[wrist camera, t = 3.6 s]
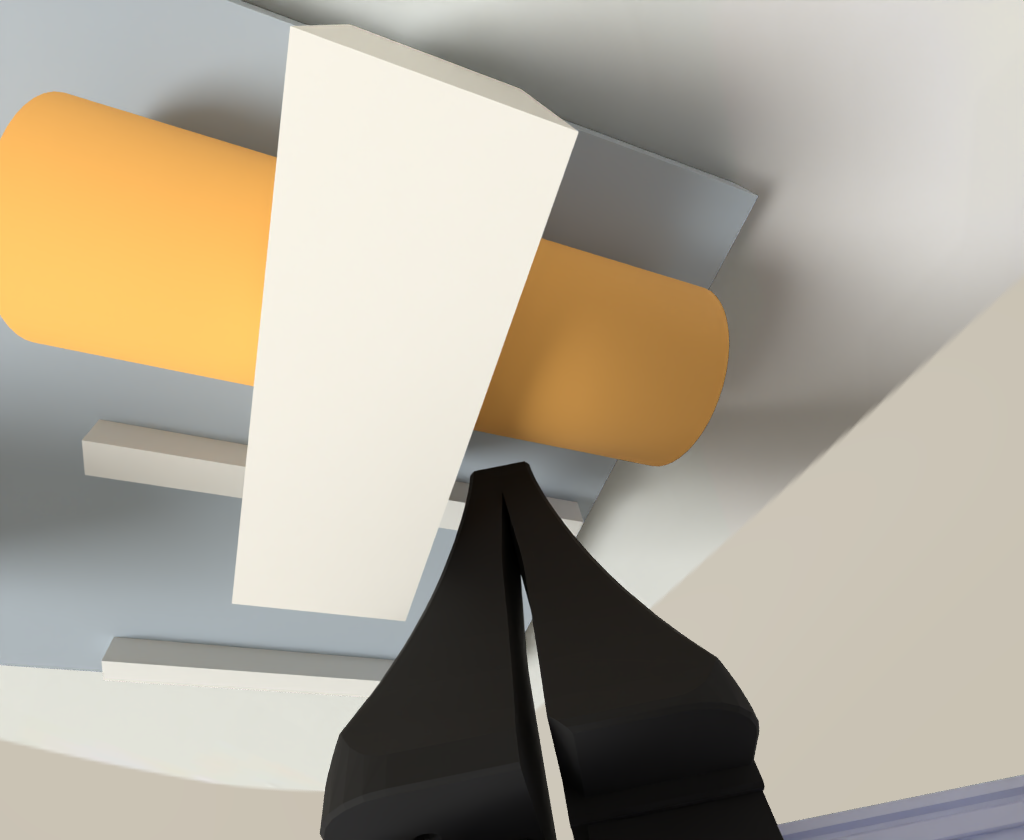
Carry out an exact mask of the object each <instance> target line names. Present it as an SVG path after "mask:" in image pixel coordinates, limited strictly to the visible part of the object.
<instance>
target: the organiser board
mask: <svg viewBox="0 0 1024 840" xmlns="http://www.w3.org/2000/svg"><path fill="white" fill-rule="evenodd" d="M290 26H306V24H303V23H301V22H298V21H295V20H293V19H290V18H287V17H285V16H282V15H279V14H276V13H274V12H271V11H268V10H266V9H263V8H260V7H257V6H255V5H252V4H249V3H247V2H244V1H241V0H0V139H1V137H2V135H3V133H4V131H5V129H6V127H7V126H8V124H9V123H10V121H11V120H12V119H13V117H14V116H15V114H16V113H17V112H18V111H19V110H20V109H21V108H22V107H23V106H24V105H25V104H26V103H28V102H29V101H30V100H32V99H33V98H34V97H36V96H39V95H41V94H43V93H47V92H53V91H55V92H64V93H67V94H71V95H74V96H77V97H80V98H84V99H87V100H90V101H93V102H97V103H100V104H103V105H107V106H110V107H113V108H116V109H120V110H123V111H126V112H130V113H133V114H136V115H139V116H143V117H146V118H149V119H152V120H156V121H159V122H162V123H166V124H169V125H172V126H175V127H179V128H182V129H185V130H189V131H192V132H195V133H198V134H202V135H205V136H208V137H212V138H215V139H218V140H221V141H225V142H228V143H231V144H234V145H238V146H241V147H244V148H248V149H251V150H254V151H257V152H261V153H264V154H267V155H271V156H274V157H277V151H278V141H279V131H280V122H281V112H282V102H283V92H284V82H285V72H286V62H287V52H288V43H289V33H290ZM562 120H563V119H562ZM564 121H565V122H566V123H568V124H569V125H570V126H572V127H573V128H574V129H576V130H577V131H578V132H579V133H578V135H577V138H576V141H575V144H574V147H573V149H572V152H571V155H570V158H569V161H568V164H567V166H566V169H565V172H564V175H563V178H562V181H561V183H560V186H559V189H558V192H557V195H556V197H555V200H554V203H553V206H552V209H551V212H550V214H549V217H548V220H547V223H546V226H545V229H544V231H543V234H542V237H541V238H543V239H546V240H549V241H553V242H556V243H559V244H562V245H566V246H569V247H572V248H575V249H579V250H582V251H585V252H589V253H592V254H595V255H598V256H602V257H605V258H608V259H612V260H615V261H618V262H621V263H625V264H628V265H631V266H634V267H638V268H641V269H644V270H648V271H651V272H654V273H657V274H661V275H664V276H667V277H671V278H674V279H677V280H680V281H684V282H687V283H690V284H694V285H697V286H700V287H703V288H706V289H708V290H709V288H710V286H711V284H712V282H713V280H714V278H715V277H716V275H717V273H718V271H719V269H720V267H721V265H722V263H723V262H724V260H725V258H726V256H727V254H728V252H729V250H730V249H731V247H732V245H733V243H734V241H735V239H736V237H737V235H738V234H739V232H740V230H741V228H742V226H743V224H744V222H745V221H746V219H747V217H748V215H749V213H750V211H751V209H752V207H753V206H754V204H755V202H756V200H757V198H758V195H756V194H754V193H752V192H750V191H749V190H747V189H745V188H743V187H741V186H739V185H737V184H735V183H733V182H731V181H728V180H725V179H723V178H720V177H717V176H714V175H712V174H709V173H706V172H704V171H701V170H698V169H696V168H693V167H690V166H687V165H685V164H682V163H679V162H677V161H674V160H671V159H668V158H666V157H663V156H660V155H658V154H655V153H652V152H650V151H647V150H644V149H641V148H639V147H636V146H633V145H631V144H628V143H625V142H623V141H620V140H617V139H614V138H612V137H609V136H606V135H604V134H601V133H598V132H595V131H593V130H590V129H587V128H585V127H582V126H579V125H577V124H574V123H571V122H568V121H566V120H564ZM253 388H254V386H249V385H244V384H239V383H234V382H229V381H224V380H219V379H214V378H209V377H204V376H199V375H194V374H189V373H184V372H179V371H174V370H169V369H164V368H159V367H154V366H149V365H144V364H139V363H134V362H129V361H124V360H119V359H114V358H109V357H104V356H99V355H94V354H89V353H84V352H79V351H74V350H69V349H64V348H59V347H54V346H49V345H44V344H39V343H34V342H31V341H28V340H25V339H23V338H22V337H20V336H18V335H17V334H16V333H15V332H14V331H13V330H12V329H10V328H9V326H8V325H7V324H6V322H5V321H4V320H3V318H2V317H1V315H0V665H6V666H21V667H36V668H51V669H65V670H80V671H95V672H102V673H103V681H119V682H134V683H150V684H165V685H181V686H196V687H212V688H227V689H243V690H258V691H274V692H290V693H305V694H321V695H336V696H352V697H367V698H368V697H369V696H370V695H371V694H372V692H373V691H374V690H375V688H376V687H377V685H378V684H379V683H380V681H381V680H382V678H383V677H384V675H385V674H386V672H387V671H388V669H389V668H390V666H391V665H392V663H393V662H394V660H395V659H396V657H397V656H398V654H399V653H400V651H401V650H402V648H403V647H404V645H405V643H406V642H407V640H408V638H409V637H410V635H411V633H412V632H413V630H414V628H415V626H416V624H417V623H418V621H419V619H420V617H421V615H422V614H423V612H424V610H425V608H426V606H427V604H428V602H429V600H430V598H431V596H432V594H433V592H434V590H435V588H436V585H437V583H438V581H439V579H440V576H441V574H442V572H443V569H444V567H445V564H446V562H447V559H448V556H449V554H450V551H451V549H452V546H453V543H454V541H455V538H456V534H457V531H458V528H459V525H460V521H461V518H462V515H463V511H464V507H465V503H466V499H467V494H468V489H469V483H470V475H471V474H472V473H473V472H474V471H477V470H482V469H487V468H492V467H497V466H502V465H507V464H512V463H517V462H523V461H525V462H527V463H528V464H530V467H531V470H532V472H533V475H534V477H535V479H536V481H537V483H538V484H539V486H540V488H541V490H542V491H543V493H544V495H545V496H546V498H547V499H548V501H549V502H550V504H551V505H552V507H553V508H554V510H555V511H556V512H557V514H558V515H559V517H560V518H561V519H562V521H563V522H564V524H565V525H566V526H567V527H568V529H569V530H570V531H571V532H572V534H573V535H574V536H575V537H576V536H577V535H578V533H579V531H580V529H581V527H582V525H583V523H584V521H585V520H586V518H587V516H588V514H589V512H590V510H591V508H592V506H593V505H594V503H595V501H596V499H597V497H598V495H599V493H600V492H601V490H602V488H603V486H604V484H605V482H606V480H607V478H608V477H609V475H610V473H611V471H612V469H613V467H614V465H615V463H616V462H617V460H618V459H615V458H610V457H605V456H600V455H595V454H590V453H585V452H580V451H575V450H570V449H565V448H560V447H555V446H550V445H545V444H540V443H535V442H530V441H525V440H520V439H515V438H510V437H505V436H500V435H495V434H490V433H485V432H480V431H475V430H473V432H472V435H471V438H470V440H469V443H468V446H467V449H466V452H465V455H464V457H463V460H462V463H461V466H460V469H459V471H458V474H457V477H456V480H455V483H454V486H453V488H452V491H451V494H450V497H449V500H448V503H447V505H446V508H445V511H444V514H443V517H442V519H441V522H440V525H439V528H438V531H437V534H436V536H435V539H434V542H433V545H432V548H431V551H430V553H429V556H428V559H427V562H426V565H425V567H424V570H423V573H422V576H421V579H420V582H419V584H418V587H417V590H416V593H415V596H414V599H413V601H412V604H411V607H410V610H409V613H408V616H407V618H406V621H397V620H387V619H377V618H367V617H357V616H348V615H338V614H328V613H318V612H308V611H299V610H289V609H279V608H269V607H259V606H250V605H240V604H232V596H233V586H234V576H235V566H236V556H237V547H238V537H239V527H240V517H241V507H242V497H243V487H244V477H245V468H246V458H247V448H248V438H249V428H250V418H251V408H252V398H253ZM521 584H522V597H523V611H524V625H525V632H526V630H527V628H528V626H529V624H530V622H531V620H532V614H531V609H530V605H529V602H528V598H527V595H526V591H525V587H524V584H523V580H522V576H521Z"/></svg>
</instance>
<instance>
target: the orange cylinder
mask: <svg viewBox="0 0 1024 840" xmlns="http://www.w3.org/2000/svg"><path fill="white" fill-rule="evenodd" d="M276 161H277V157H274V156H271V155H267V154H264V153H261V152H257V151H254V150H251V149H248V148H244V147H241V146H238V145H234V144H231V143H228V142H225V141H221V140H218V139H215V138H212V137H208V136H205V135H202V134H198V133H195V132H192V131H189V130H185V129H182V128H179V127H175V126H172V125H169V124H166V123H162V122H159V121H156V120H152V119H149V118H146V117H143V116H139V115H136V114H133V113H130V112H126V111H123V110H120V109H116V108H113V107H110V106H107V105H103V104H100V103H97V102H93V101H90V100H87V99H84V98H80V97H77V96H74V95H71V94H67V93H64V92H55V91H53V92H47V93H43V94H41V95H39V96H36V97H34V98H33V99H32V100H30V101H29V102H28V103H26V104H25V105H24V106H23V107H22V108H21V109H20V110H19V111H18V112H17V113H16V114H15V116H14V117H13V119H12V120H11V121H10V123H9V124H8V126H7V127H6V129H5V131H4V133H3V135H2V137H1V139H0V315H1V317H2V318H3V320H4V321H5V322H6V324H7V325H8V326H9V328H10V329H12V330H13V331H14V332H15V333H16V334H17V335H18V336H20V337H22V338H23V339H25V340H28V341H31V342H34V343H39V344H44V345H49V346H54V347H59V348H64V349H69V350H74V351H79V352H84V353H89V354H94V355H99V356H104V357H109V358H114V359H119V360H124V361H129V362H134V363H139V364H144V365H149V366H154V367H159V368H164V369H169V370H174V371H179V372H184V373H189V374H194V375H199V376H204V377H209V378H214V379H219V380H224V381H229V382H234V383H239V384H244V385H249V386H254V379H255V369H256V359H257V349H258V339H259V329H260V319H261V309H262V299H263V290H264V280H265V270H266V260H267V250H268V240H269V230H270V220H271V211H272V201H273V191H274V181H275V171H276ZM728 356H729V331H728V324H727V319H726V315H725V312H724V309H723V307H722V305H721V303H720V301H719V300H718V298H717V297H716V296H715V295H714V294H713V293H712V292H711V291H710V290H708V289H706V288H703V287H700V286H697V285H694V284H690V283H687V282H684V281H680V280H677V279H674V278H671V277H667V276H664V275H661V274H657V273H654V272H651V271H648V270H644V269H641V268H638V267H634V266H631V265H628V264H625V263H621V262H618V261H615V260H612V259H608V258H605V257H602V256H598V255H595V254H592V253H589V252H585V251H582V250H579V249H575V248H572V247H569V246H566V245H562V244H559V243H556V242H553V241H549V240H546V239H543V238H541V240H540V243H539V246H538V248H537V251H536V254H535V257H534V260H533V262H532V265H531V268H530V271H529V274H528V277H527V279H526V282H525V285H524V288H523V291H522V294H521V296H520V299H519V302H518V305H517V308H516V310H515V313H514V316H513V319H512V322H511V325H510V327H509V330H508V333H507V336H506V339H505V342H504V344H503V347H502V350H501V353H500V356H499V358H498V361H497V364H496V367H495V370H494V373H493V375H492V378H491V381H490V384H489V387H488V390H487V392H486V395H485V398H484V401H483V404H482V407H481V409H480V412H479V415H478V418H477V421H476V423H475V426H474V429H473V430H475V431H480V432H485V433H490V434H495V435H500V436H505V437H510V438H515V439H520V440H525V441H530V442H535V443H540V444H545V445H550V446H555V447H560V448H565V449H570V450H575V451H580V452H585V453H590V454H595V455H600V456H605V457H610V458H615V459H620V460H625V461H630V462H635V463H640V464H645V465H650V466H663V465H667V464H669V463H672V462H673V461H675V460H677V459H678V458H680V457H681V456H682V455H683V454H685V453H686V452H687V451H688V450H689V449H690V448H691V447H692V446H693V444H694V443H695V442H696V441H697V439H698V438H699V437H700V435H701V434H702V432H703V431H704V429H705V427H706V426H707V424H708V422H709V420H710V418H711V416H712V414H713V412H714V410H715V407H716V405H717V402H718V400H719V397H720V394H721V391H722V387H723V384H724V380H725V375H726V371H727V364H728Z"/></svg>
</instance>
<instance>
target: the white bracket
mask: <svg viewBox="0 0 1024 840" xmlns="http://www.w3.org/2000/svg"><path fill="white" fill-rule="evenodd" d="M578 133H579V132H578V131H577V130H576V129H574V128H573V127H572V126H570V125H569V124H568V123H566V122H565V121H564V120H562V119H561V118H559V117H558V116H557V115H555V114H554V113H553V112H551V111H550V110H549V109H547V108H546V107H545V106H543V105H542V104H541V103H539V102H538V101H537V100H535V99H534V98H533V97H531V96H530V95H528V94H527V93H526V92H524V91H523V90H522V89H520V88H517V87H515V86H512V85H509V84H507V83H504V82H502V81H499V80H496V79H494V78H491V77H488V76H486V75H483V74H480V73H478V72H475V71H472V70H470V69H467V68H464V67H462V66H459V65H457V64H454V63H451V62H449V61H446V60H443V59H441V58H438V57H435V56H433V55H430V54H427V53H425V52H422V51H419V50H417V49H414V48H411V47H409V46H406V45H404V44H401V43H398V42H396V41H393V40H390V39H388V38H385V37H382V36H380V35H377V34H374V33H372V32H369V31H366V30H364V29H361V28H358V27H356V26H353V25H351V24H337V25H306V26H290V33H289V43H288V52H287V62H286V72H285V82H284V92H283V102H282V112H281V122H280V131H279V141H278V151H277V161H276V171H275V181H274V191H273V201H272V211H271V220H270V230H269V240H268V250H267V260H266V270H265V280H264V290H263V299H262V309H261V319H260V329H259V339H258V349H257V359H256V369H255V379H254V388H253V398H252V408H251V418H250V428H249V438H248V448H247V458H246V468H245V477H244V487H243V497H242V507H241V517H240V527H239V537H238V547H237V556H236V566H235V576H234V586H233V596H232V604H240V605H250V606H259V607H269V608H279V609H289V610H299V611H308V612H318V613H328V614H338V615H348V616H357V617H367V618H377V619H387V620H397V621H406V618H407V616H408V613H409V610H410V607H411V604H412V601H413V599H414V596H415V593H416V590H417V587H418V584H419V582H420V579H421V576H422V573H423V570H424V567H425V565H426V562H427V559H428V556H429V553H430V551H431V548H432V545H433V542H434V539H435V536H436V534H437V531H438V528H439V525H440V522H441V519H442V517H443V514H444V511H445V508H446V505H447V503H448V500H449V497H450V494H451V491H452V488H453V486H454V483H455V480H456V477H457V474H458V471H459V469H460V466H461V463H462V460H463V457H464V455H465V452H466V449H467V446H468V443H469V440H470V438H471V435H472V432H473V429H474V426H475V423H476V421H477V418H478V415H479V412H480V409H481V407H482V404H483V401H484V398H485V395H486V392H487V390H488V387H489V384H490V381H491V378H492V375H493V373H494V370H495V367H496V364H497V361H498V358H499V356H500V353H501V350H502V347H503V344H504V342H505V339H506V336H507V333H508V330H509V327H510V325H511V322H512V319H513V316H514V313H515V310H516V308H517V305H518V302H519V299H520V296H521V294H522V291H523V288H524V285H525V282H526V279H527V277H528V274H529V271H530V268H531V265H532V262H533V260H534V257H535V254H536V251H537V248H538V246H539V243H540V240H541V237H542V234H543V231H544V229H545V226H546V223H547V220H548V217H549V214H550V212H551V209H552V206H553V203H554V200H555V197H556V195H557V192H558V189H559V186H560V183H561V181H562V178H563V175H564V172H565V169H566V166H567V164H568V161H569V158H570V155H571V152H572V149H573V147H574V144H575V141H576V138H577V135H578Z"/></svg>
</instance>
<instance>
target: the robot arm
mask: <svg viewBox="0 0 1024 840" xmlns="http://www.w3.org/2000/svg"><path fill="white" fill-rule="evenodd" d="M521 576H522V580H523V584H524V587H525V591H526V595H527V598H528V602H529V605H530V609H531V614H532V620H533V626H534V633H535V639H536V645H537V652H538V658H539V665H540V672H541V678H542V685H543V692H544V698H545V705H546V712H547V718H548V722H549V726H550V730H551V735H552V739H553V743H554V747H555V752H556V756H557V760H558V764H559V769H560V773H561V777H562V781H563V787H564V793H565V799H566V804H567V810H568V816H569V821H570V826H571V829H572V832H573V836H574V840H1024V775H1020V776H1015V777H1010V778H1005V779H1000V780H995V781H990V782H985V783H980V784H975V785H970V786H965V787H960V788H956V789H951V790H946V791H941V792H936V793H932V794H926V795H921V796H916V797H911V798H906V799H901V800H896V801H891V802H887V803H882V804H877V805H872V806H867V807H862V808H857V809H852V810H847V811H842V812H838V813H832V814H828V815H823V816H818V817H813V818H808V819H803V820H798V821H793V822H789V823H783V824H779V825H777V823H776V821H775V819H774V816H773V814H772V812H771V809H770V807H769V805H768V802H767V800H766V798H765V795H764V793H763V791H762V790H764V783H763V780H762V777H761V775H760V773H759V770H758V768H757V766H756V764H755V761H754V755H755V750H756V745H757V740H758V735H759V721H758V719H757V717H756V715H755V713H754V711H753V709H752V707H751V705H750V703H749V702H748V700H747V698H746V697H745V695H744V694H743V692H742V690H741V689H740V687H739V686H738V685H737V683H736V682H735V680H734V679H733V677H732V676H731V675H730V673H729V672H728V671H727V669H726V668H725V667H724V665H723V664H722V663H721V661H720V660H719V659H718V658H717V657H716V656H714V655H712V654H711V653H709V652H708V651H706V650H705V649H703V648H702V647H700V646H698V645H697V644H696V643H694V642H693V641H691V640H690V639H688V638H687V637H685V636H684V635H682V634H681V633H680V632H678V631H677V630H676V629H674V628H673V627H671V626H670V625H669V624H667V623H666V622H665V621H663V620H662V619H661V618H659V617H658V616H657V615H655V614H654V613H653V612H652V611H651V610H650V609H648V608H647V607H646V606H645V605H644V604H642V603H641V602H640V601H639V600H638V599H636V598H635V597H634V596H633V595H632V594H630V593H629V592H628V591H627V590H626V589H625V588H623V587H622V586H621V585H620V584H619V583H618V582H617V581H616V580H615V579H614V578H613V577H612V576H611V575H610V574H609V573H608V572H607V571H606V570H605V569H604V568H603V567H602V566H601V565H600V564H599V563H598V562H597V561H596V560H595V559H594V558H593V557H592V556H591V555H590V554H589V552H588V551H587V550H586V549H585V548H584V547H583V546H582V544H581V543H580V542H579V541H578V540H577V538H576V537H575V536H574V535H573V534H572V532H571V531H570V530H569V529H568V527H567V526H566V525H565V524H564V522H563V521H562V519H561V518H560V517H559V515H558V514H557V512H556V511H555V510H554V508H553V507H552V505H551V504H550V502H549V501H548V499H547V498H546V496H545V495H544V493H543V491H542V490H541V488H540V486H539V484H538V483H537V481H536V479H535V477H534V475H533V472H532V470H531V467H530V464H528V463H527V462H525V461H523V462H517V463H512V464H507V465H502V466H497V467H492V468H487V469H482V470H477V471H474V472H473V473H472V474H471V475H470V483H469V489H468V494H467V499H466V503H465V507H464V511H463V515H462V518H461V521H460V525H459V528H458V531H457V534H456V538H455V541H454V543H453V546H452V549H451V551H450V554H449V556H448V559H447V562H446V564H445V567H444V569H443V572H442V574H441V576H440V579H439V581H438V583H437V585H436V588H435V590H434V592H433V594H432V596H431V598H430V600H429V602H428V604H427V606H426V608H425V610H424V612H423V614H422V615H421V617H420V619H419V621H418V623H417V624H416V626H415V628H414V630H413V632H412V633H411V635H410V637H409V638H408V640H407V642H406V643H405V645H404V647H403V648H402V650H401V651H400V653H399V654H398V656H397V657H396V659H395V660H394V662H393V663H392V665H391V666H390V668H389V669H388V671H387V672H386V674H385V675H384V677H383V678H382V680H381V681H380V683H379V684H378V685H377V687H376V688H375V690H374V691H373V692H372V694H371V695H370V696H369V697H368V699H367V700H366V701H365V703H364V704H363V705H362V706H361V708H360V709H359V710H358V711H357V713H356V714H355V715H354V717H353V718H352V719H351V720H350V722H349V723H348V724H347V725H346V727H345V728H344V729H343V730H342V732H341V733H340V735H339V738H338V741H337V744H336V747H335V750H334V754H333V757H332V761H331V765H330V769H329V773H328V777H327V782H326V787H325V795H324V803H323V812H322V820H321V829H320V835H321V837H322V839H323V840H557V839H556V833H555V828H554V822H553V816H552V810H551V804H550V799H549V792H548V786H547V781H546V775H545V769H544V763H543V757H542V751H541V745H540V739H539V733H538V727H537V721H536V715H535V709H534V703H533V697H532V690H531V684H530V678H529V671H528V663H527V653H526V639H525V625H524V611H523V597H522V584H521Z"/></svg>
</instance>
